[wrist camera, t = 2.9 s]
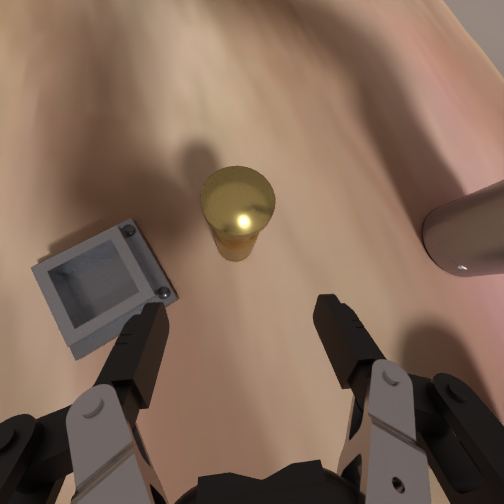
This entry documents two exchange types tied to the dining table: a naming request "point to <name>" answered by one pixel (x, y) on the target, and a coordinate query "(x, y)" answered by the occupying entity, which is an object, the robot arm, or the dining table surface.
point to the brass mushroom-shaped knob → (237, 209)
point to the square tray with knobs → (102, 286)
